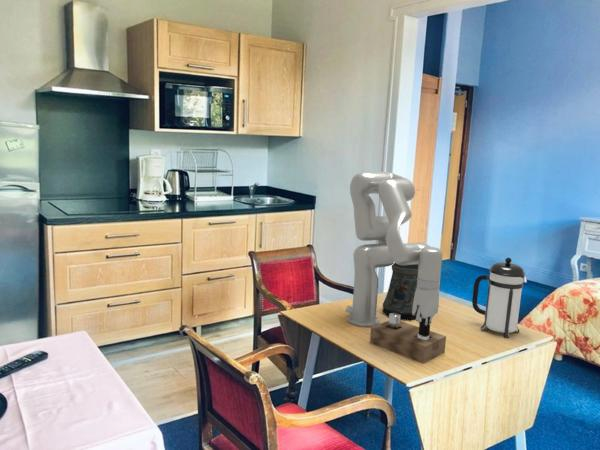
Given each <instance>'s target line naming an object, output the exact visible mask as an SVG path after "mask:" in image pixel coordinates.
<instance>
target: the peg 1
mask: <svg viewBox="0 0 600 450" xmlns="http://www.w3.org/2000/svg"><path fill="white" fill-rule="evenodd" d="M400 316H401V315H400V314H397V313H390V314H389V317H388V321H389V324H388V328H391V329H394V330H397V329H399V327H400V321H401V320H400Z"/></svg>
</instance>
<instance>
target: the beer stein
mask: <svg viewBox="0 0 600 450" xmlns="http://www.w3.org/2000/svg"><path fill="white" fill-rule="evenodd" d="M418 265H419V264H413V265H404V266H402V265H398V264H396V263H395V262H394V263H393V264H392V265H391V270H392V272H391V273H392V274H391V277H390V282H389V285H388V290H387V292H386V295H385V298H384V301H383V303H382V310H383V311H382V312H383V314H384V315H385V316H387V317H388V318H389V314H390V313H397V314H400V315H401V316H400V321H414V320H415V321H416V316H417V315H415V316H413V315H412V308H413V301H414V295H415V291H416V288H417V277H418Z"/></svg>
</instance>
